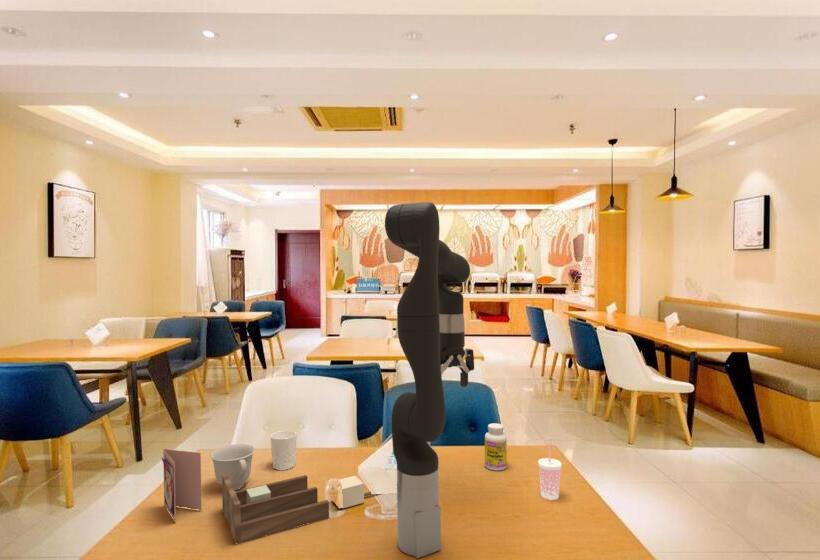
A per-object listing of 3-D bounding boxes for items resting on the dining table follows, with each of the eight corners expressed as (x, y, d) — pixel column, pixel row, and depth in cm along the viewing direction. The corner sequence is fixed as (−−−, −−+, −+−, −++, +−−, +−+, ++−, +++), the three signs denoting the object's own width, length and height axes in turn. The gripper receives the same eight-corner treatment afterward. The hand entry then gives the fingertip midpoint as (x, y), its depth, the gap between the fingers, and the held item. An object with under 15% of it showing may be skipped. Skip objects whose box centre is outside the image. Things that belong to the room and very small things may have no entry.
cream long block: (416, 488, 131) (415, 470, 131) (339, 509, 119) (339, 490, 119) (405, 480, 136) (405, 463, 136) (330, 500, 124) (330, 481, 124)
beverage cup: (561, 502, 122) (561, 449, 122) (537, 499, 124) (537, 446, 124) (562, 492, 128) (561, 441, 128) (538, 489, 130) (538, 438, 130)
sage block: (271, 511, 119) (270, 492, 119) (250, 517, 117) (250, 497, 117) (266, 503, 124) (266, 484, 124) (246, 508, 121) (246, 489, 121)
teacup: (221, 505, 123) (221, 467, 123) (204, 485, 134) (204, 450, 134) (266, 491, 130) (265, 455, 130) (246, 473, 142) (246, 440, 142)
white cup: (270, 463, 150) (270, 431, 150) (296, 459, 152) (295, 429, 152) (271, 473, 142) (270, 440, 142) (297, 469, 145) (297, 437, 145)
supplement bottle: (483, 470, 143) (483, 428, 143) (486, 461, 150) (486, 421, 149) (505, 472, 141) (505, 430, 141) (507, 463, 148) (507, 423, 147)
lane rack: (329, 517, 116) (328, 481, 116) (235, 544, 105) (234, 504, 105) (306, 489, 131) (305, 457, 131) (222, 509, 120) (221, 475, 120)
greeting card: (160, 507, 122) (159, 449, 122) (191, 498, 127) (190, 442, 127) (171, 525, 113) (170, 463, 113) (204, 514, 118) (203, 455, 118)
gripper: (437, 333, 123) (437, 394, 124) (479, 329, 131) (480, 387, 131) (421, 330, 130) (422, 388, 130) (463, 327, 137) (463, 382, 137)
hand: (451, 388), depth 131 cm, fingers open, 8 cm apart
